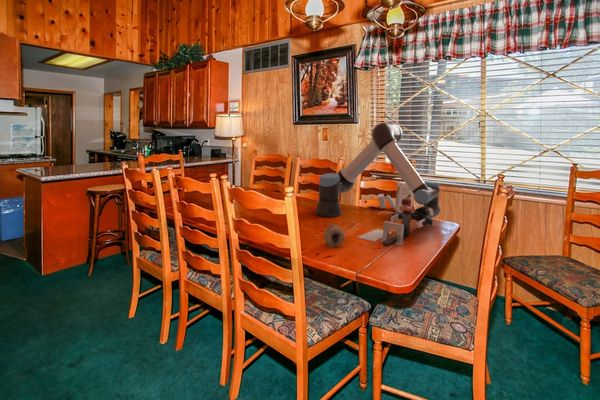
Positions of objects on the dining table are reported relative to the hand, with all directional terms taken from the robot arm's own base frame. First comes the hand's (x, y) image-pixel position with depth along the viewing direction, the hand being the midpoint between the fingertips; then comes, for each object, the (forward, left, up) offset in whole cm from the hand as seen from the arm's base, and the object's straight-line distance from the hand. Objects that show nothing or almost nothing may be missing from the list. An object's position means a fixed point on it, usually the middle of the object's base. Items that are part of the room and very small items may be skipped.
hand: (404, 222), depth 179 cm
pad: (-11, -7, -7) cm, 15 cm away
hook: (0, -6, -7) cm, 10 cm away
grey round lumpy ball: (-17, -32, -8) cm, 37 cm away
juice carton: (-21, +44, -8) cm, 49 cm away
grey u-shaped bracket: (0, -11, -7) cm, 13 cm away
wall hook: (-35, +50, -8) cm, 62 cm away
